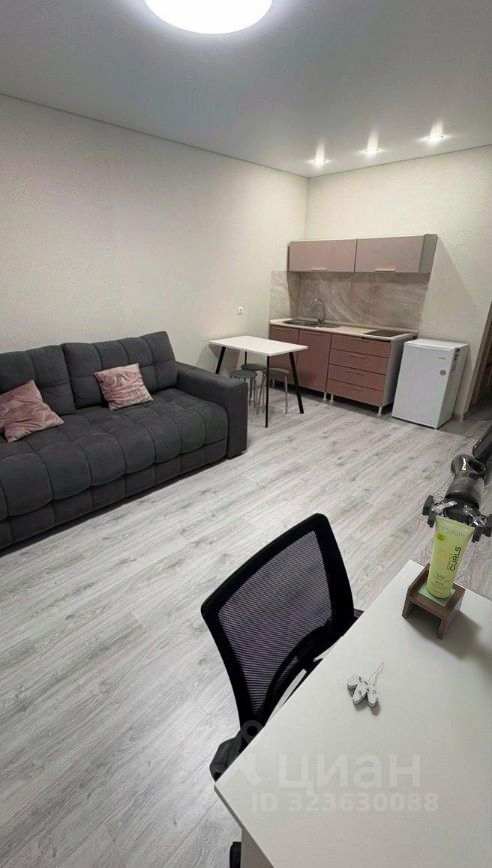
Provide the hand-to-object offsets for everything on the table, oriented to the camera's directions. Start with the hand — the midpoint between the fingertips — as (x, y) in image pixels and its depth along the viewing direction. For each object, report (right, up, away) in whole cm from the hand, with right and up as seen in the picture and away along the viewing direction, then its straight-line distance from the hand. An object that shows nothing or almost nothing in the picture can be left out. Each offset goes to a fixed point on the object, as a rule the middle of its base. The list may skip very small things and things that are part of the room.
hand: (452, 531), depth 86 cm
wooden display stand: (+1, -23, +11) cm, 25 cm away
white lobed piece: (-20, -29, -6) cm, 36 cm away
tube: (+1, -16, +8) cm, 18 cm away
